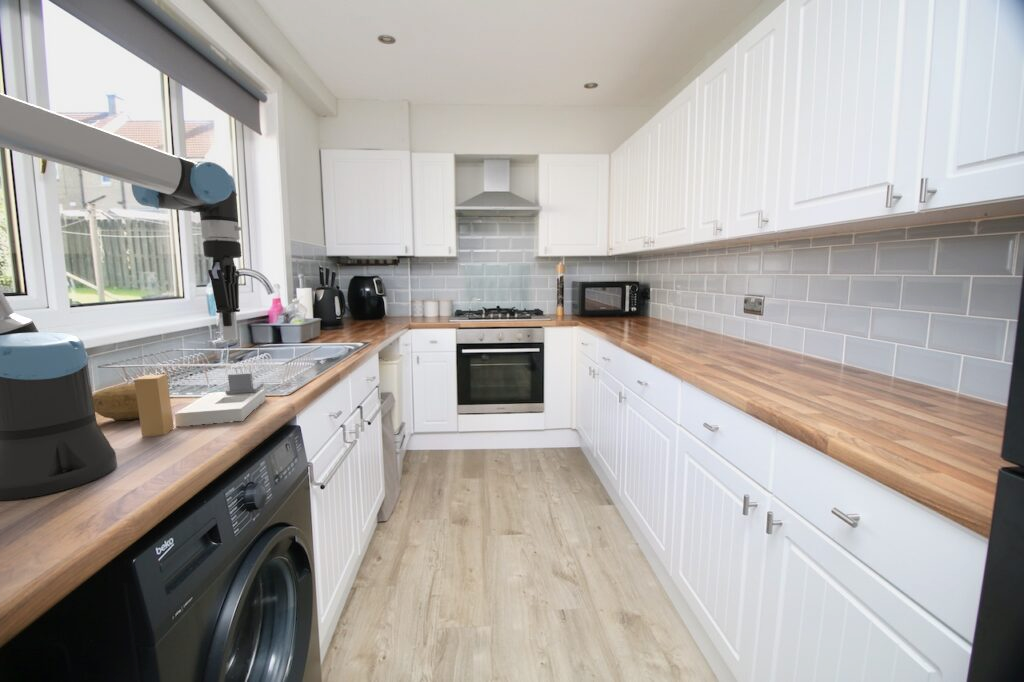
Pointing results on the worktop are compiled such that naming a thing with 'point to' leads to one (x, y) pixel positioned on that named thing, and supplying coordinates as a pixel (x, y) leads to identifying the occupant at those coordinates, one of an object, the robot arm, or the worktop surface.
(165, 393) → the plug
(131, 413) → the potato
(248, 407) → the socket board
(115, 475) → the worktop surface
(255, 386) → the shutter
